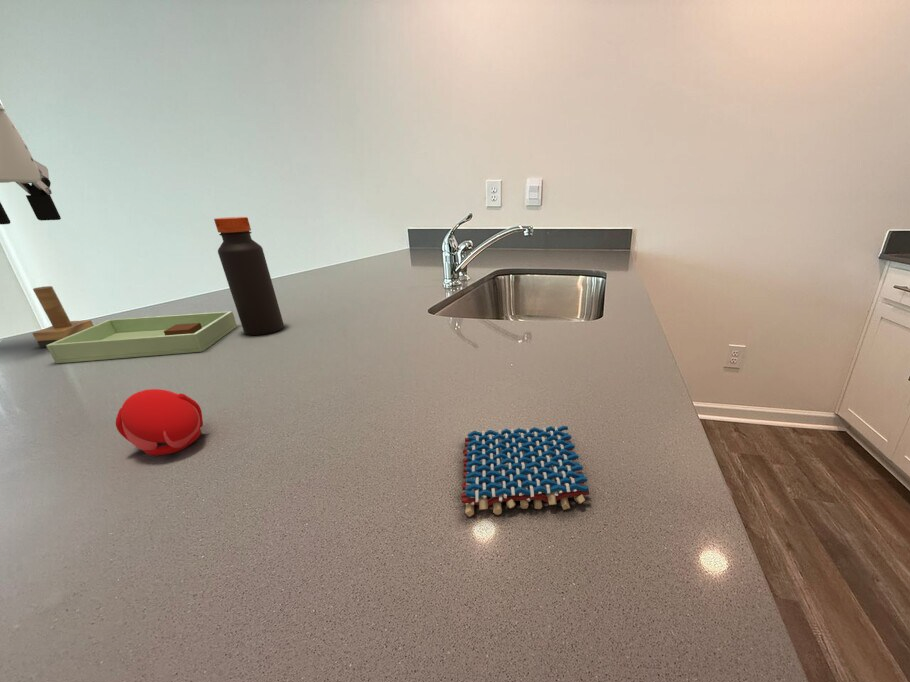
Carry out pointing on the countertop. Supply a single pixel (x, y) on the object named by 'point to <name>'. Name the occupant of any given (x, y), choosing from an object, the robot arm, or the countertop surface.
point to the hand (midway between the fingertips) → (25, 222)
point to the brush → (56, 318)
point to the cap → (159, 421)
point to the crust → (183, 329)
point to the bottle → (248, 277)
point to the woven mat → (521, 469)
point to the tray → (141, 337)
